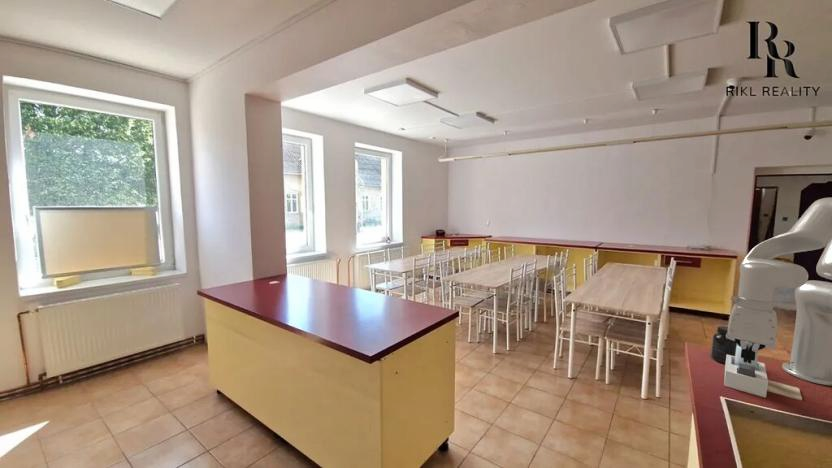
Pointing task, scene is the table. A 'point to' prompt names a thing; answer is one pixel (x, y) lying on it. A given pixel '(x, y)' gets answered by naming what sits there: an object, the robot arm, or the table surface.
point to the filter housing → (746, 378)
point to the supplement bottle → (722, 345)
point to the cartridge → (741, 360)
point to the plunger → (746, 370)
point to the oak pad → (784, 390)
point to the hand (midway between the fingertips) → (747, 361)
